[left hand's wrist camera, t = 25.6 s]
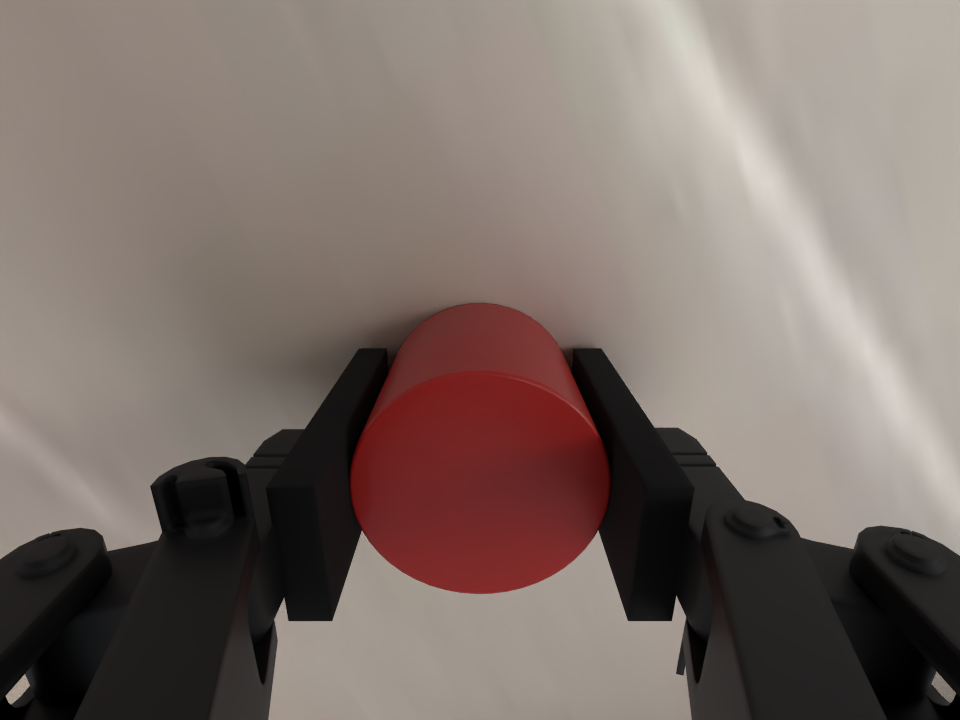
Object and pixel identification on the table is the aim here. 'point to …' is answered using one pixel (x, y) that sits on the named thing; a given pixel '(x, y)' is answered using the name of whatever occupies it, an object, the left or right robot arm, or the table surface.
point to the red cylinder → (480, 456)
